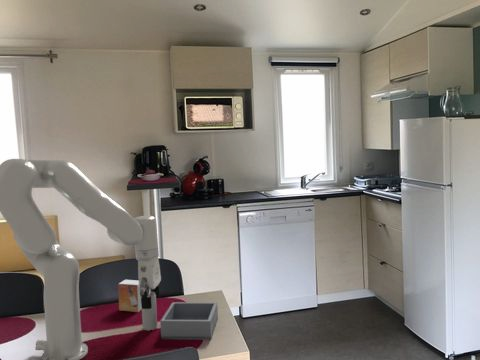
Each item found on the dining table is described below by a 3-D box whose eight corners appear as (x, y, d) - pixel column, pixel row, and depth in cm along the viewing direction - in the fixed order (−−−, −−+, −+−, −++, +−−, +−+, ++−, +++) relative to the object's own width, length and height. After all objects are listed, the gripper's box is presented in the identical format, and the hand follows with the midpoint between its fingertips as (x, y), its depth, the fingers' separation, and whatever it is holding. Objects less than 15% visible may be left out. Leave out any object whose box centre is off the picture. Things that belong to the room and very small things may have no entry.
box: (161, 339, 135) (160, 320, 134) (173, 318, 151) (172, 302, 150) (211, 339, 133) (210, 321, 133) (217, 318, 149) (217, 302, 149)
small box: (119, 311, 159) (117, 283, 158) (126, 305, 165) (125, 279, 164) (138, 312, 157) (137, 284, 156) (145, 306, 163) (144, 280, 162)
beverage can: (153, 331, 140) (152, 296, 139) (140, 331, 141) (138, 295, 140) (159, 325, 145) (158, 291, 144) (146, 324, 146) (144, 290, 145)
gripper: (150, 260, 132) (154, 313, 134) (164, 246, 149) (168, 292, 151) (127, 261, 133) (131, 313, 135) (144, 246, 150) (147, 293, 152)
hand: (151, 302), depth 143 cm, fingers open, 9 cm apart
